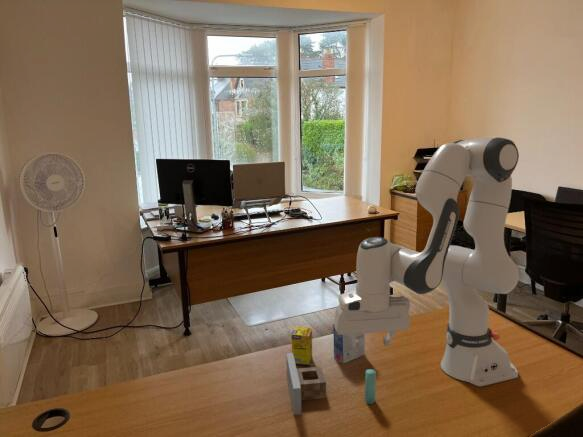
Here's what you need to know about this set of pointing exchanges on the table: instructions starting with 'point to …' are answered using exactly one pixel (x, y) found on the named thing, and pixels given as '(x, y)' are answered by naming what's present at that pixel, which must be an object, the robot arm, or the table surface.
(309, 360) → the supplement box
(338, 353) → the ink cartridge box
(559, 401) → the table surface
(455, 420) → the table surface
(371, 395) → the dowel
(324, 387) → the block
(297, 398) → the wall
